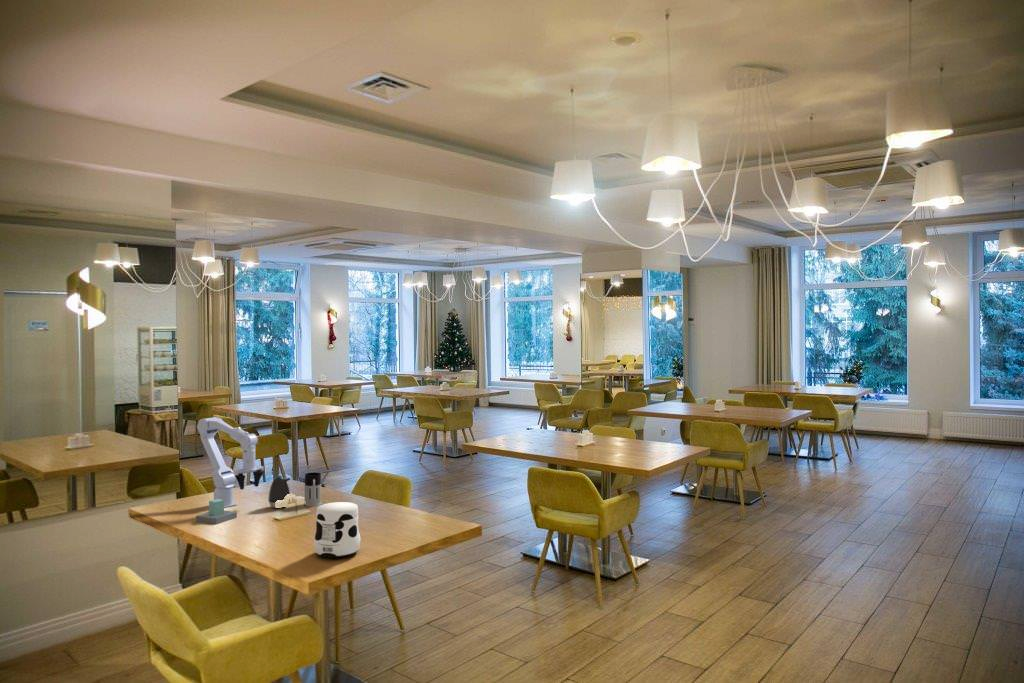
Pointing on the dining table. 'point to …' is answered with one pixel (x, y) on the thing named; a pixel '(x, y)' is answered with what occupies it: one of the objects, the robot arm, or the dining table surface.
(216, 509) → the teal block
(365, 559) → the dining table surface
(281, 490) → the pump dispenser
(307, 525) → the dining table surface
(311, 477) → the glass holder
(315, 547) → the milk container
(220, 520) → the slate base
